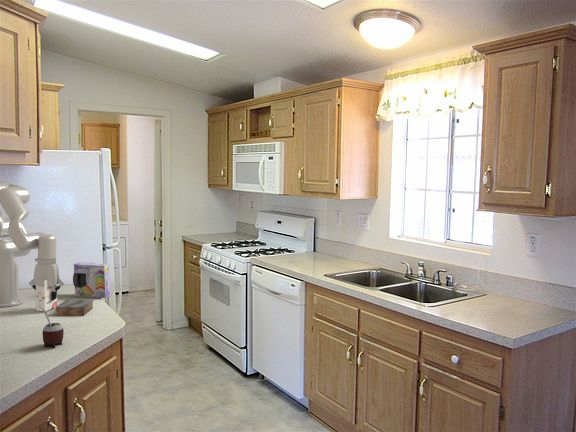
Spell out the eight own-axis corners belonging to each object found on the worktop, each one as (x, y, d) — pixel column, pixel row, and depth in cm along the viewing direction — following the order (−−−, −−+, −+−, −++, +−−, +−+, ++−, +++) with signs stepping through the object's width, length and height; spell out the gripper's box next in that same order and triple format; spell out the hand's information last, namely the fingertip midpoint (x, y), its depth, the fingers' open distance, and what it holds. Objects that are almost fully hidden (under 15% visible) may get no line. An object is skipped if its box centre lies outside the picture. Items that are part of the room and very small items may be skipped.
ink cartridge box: (48, 305, 225) (48, 275, 223) (57, 306, 224) (57, 276, 222) (35, 310, 216) (35, 279, 215) (44, 311, 215) (45, 280, 214)
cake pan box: (72, 296, 246) (72, 262, 244) (78, 293, 251) (78, 261, 249) (104, 299, 242) (104, 265, 240) (110, 297, 247) (110, 263, 245)
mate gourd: (64, 347, 176) (64, 307, 175) (41, 350, 172) (40, 310, 170) (62, 340, 182) (61, 303, 181) (39, 344, 178) (38, 305, 176)
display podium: (55, 315, 212) (55, 307, 212) (66, 307, 225) (66, 299, 224) (84, 316, 213) (84, 307, 213) (93, 308, 226) (93, 300, 225)
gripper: (23, 262, 213) (23, 300, 215) (63, 263, 215) (62, 302, 217) (31, 259, 221) (31, 296, 223) (69, 260, 222) (68, 297, 224)
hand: (46, 298), depth 220 cm, fingers closed on ink cartridge box, 5 cm apart
